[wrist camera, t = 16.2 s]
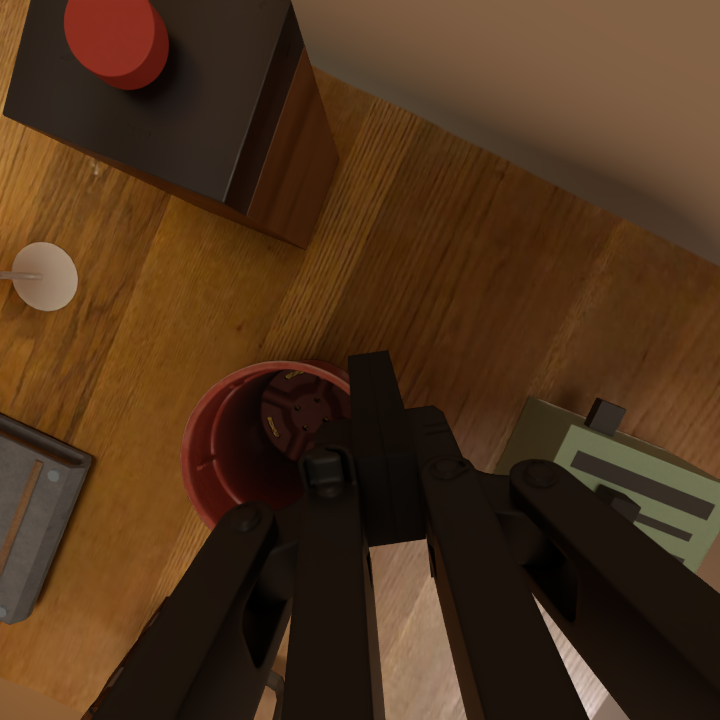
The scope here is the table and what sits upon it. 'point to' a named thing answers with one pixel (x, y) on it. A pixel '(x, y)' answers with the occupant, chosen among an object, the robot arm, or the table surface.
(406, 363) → the table surface
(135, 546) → the table surface
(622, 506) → the slider
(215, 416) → the flower pot
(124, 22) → the timer button
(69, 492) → the book
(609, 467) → the toaster
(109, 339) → the table surface
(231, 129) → the red button pedestal
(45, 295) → the wineglass
